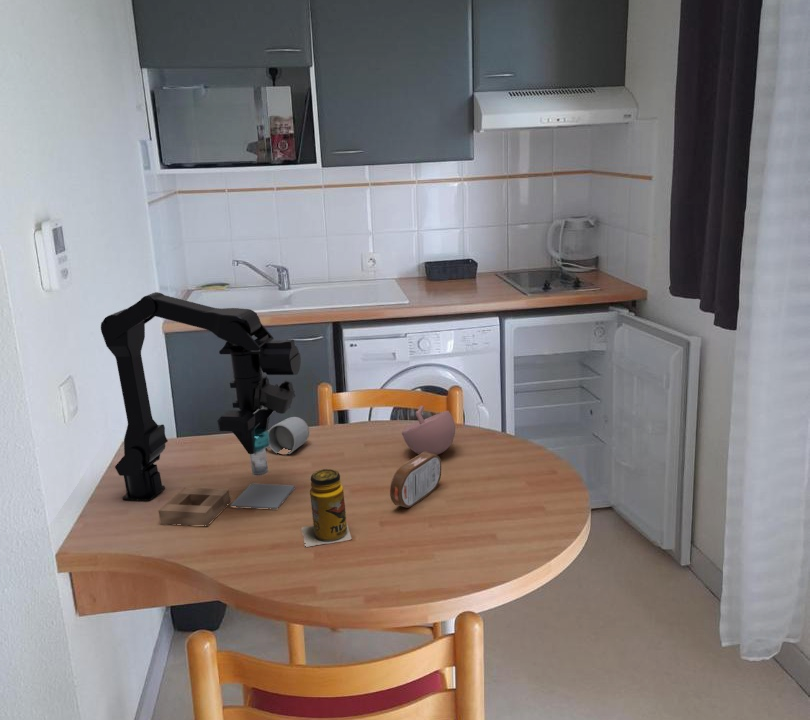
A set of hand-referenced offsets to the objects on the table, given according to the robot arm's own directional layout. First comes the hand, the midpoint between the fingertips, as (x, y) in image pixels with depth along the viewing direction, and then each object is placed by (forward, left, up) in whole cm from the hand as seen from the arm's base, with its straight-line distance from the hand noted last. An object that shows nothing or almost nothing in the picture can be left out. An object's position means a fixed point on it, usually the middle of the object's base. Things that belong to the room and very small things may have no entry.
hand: (257, 448), depth 151 cm
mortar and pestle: (+30, +25, -11) cm, 41 cm away
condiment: (+18, -13, -11) cm, 25 cm away
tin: (+32, +3, -11) cm, 34 cm away
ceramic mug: (-5, +25, -11) cm, 28 cm away
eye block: (-11, -8, -11) cm, 17 cm away
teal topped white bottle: (0, 0, -5) cm, 5 cm away
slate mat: (0, 0, -11) cm, 11 cm away
